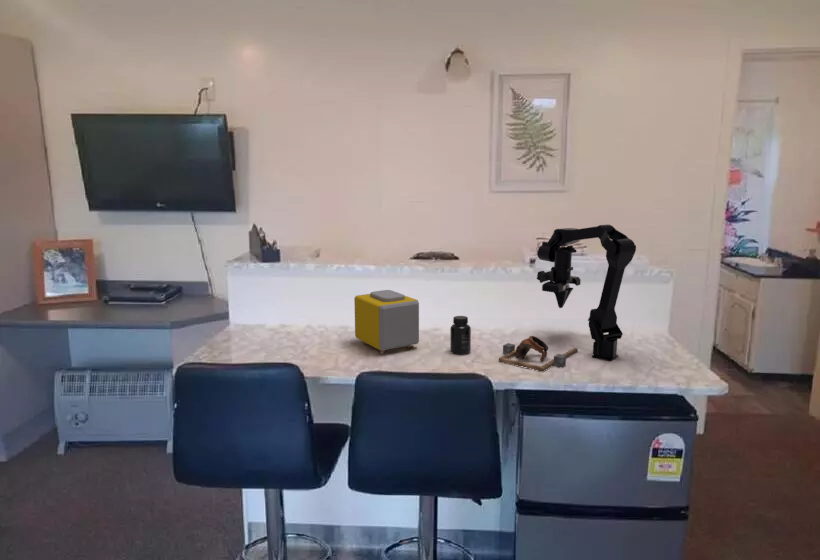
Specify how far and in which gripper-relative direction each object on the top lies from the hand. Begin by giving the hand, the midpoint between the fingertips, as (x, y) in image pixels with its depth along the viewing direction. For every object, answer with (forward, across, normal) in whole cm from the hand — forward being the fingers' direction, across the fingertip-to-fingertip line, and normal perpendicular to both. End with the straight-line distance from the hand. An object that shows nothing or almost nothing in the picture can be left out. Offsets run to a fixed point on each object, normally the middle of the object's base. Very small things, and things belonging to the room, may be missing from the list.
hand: (560, 307), depth 212 cm
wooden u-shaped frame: (+12, +21, +3) cm, 24 cm away
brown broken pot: (+12, +25, +1) cm, 28 cm away
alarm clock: (+12, +43, -44) cm, 63 cm away
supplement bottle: (+12, +33, -20) cm, 40 cm away
